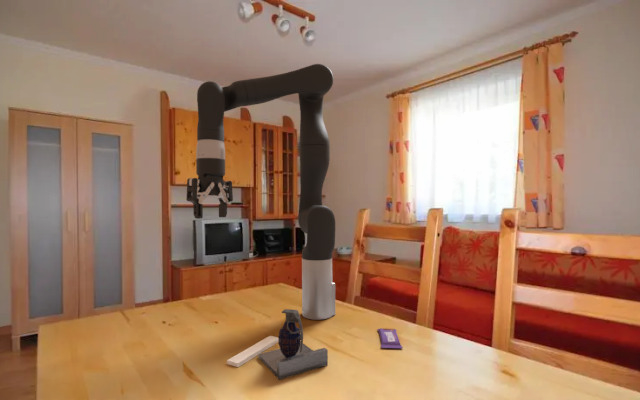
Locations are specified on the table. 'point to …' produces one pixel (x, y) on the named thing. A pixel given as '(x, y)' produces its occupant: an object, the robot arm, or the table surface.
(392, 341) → the snack package
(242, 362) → the door edge strip
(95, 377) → the table surface
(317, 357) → the plate
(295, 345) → the hand grenade
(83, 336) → the table surface
